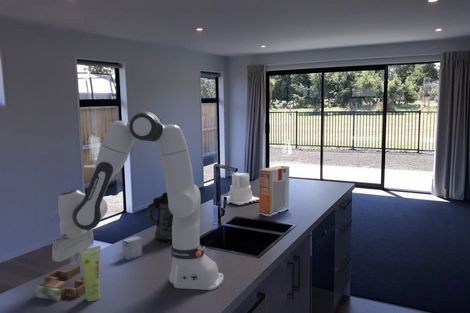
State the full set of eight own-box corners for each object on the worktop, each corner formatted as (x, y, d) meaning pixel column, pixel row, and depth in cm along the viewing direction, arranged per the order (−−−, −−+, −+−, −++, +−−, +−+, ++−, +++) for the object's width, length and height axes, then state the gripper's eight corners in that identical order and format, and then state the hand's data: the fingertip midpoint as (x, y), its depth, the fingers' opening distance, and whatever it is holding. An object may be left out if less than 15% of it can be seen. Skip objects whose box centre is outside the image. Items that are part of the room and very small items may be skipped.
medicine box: (136, 253, 188) (136, 235, 187) (142, 255, 185) (142, 237, 184) (122, 258, 182) (122, 240, 181) (128, 260, 179) (128, 242, 178)
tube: (95, 303, 140) (92, 251, 138) (82, 301, 141) (79, 250, 138) (102, 295, 146) (100, 245, 143) (90, 294, 146) (87, 244, 144)
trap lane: (108, 276, 162) (108, 267, 162) (69, 303, 140) (69, 292, 140) (68, 270, 168) (67, 261, 168) (24, 294, 146) (23, 284, 146)
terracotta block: (66, 291, 149) (65, 281, 149) (56, 297, 144) (55, 287, 144) (55, 289, 151) (54, 280, 150) (45, 295, 146) (44, 285, 145)
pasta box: (278, 207, 273) (279, 165, 269) (288, 209, 267) (289, 166, 264) (259, 214, 255) (259, 169, 251) (269, 217, 250) (270, 171, 246)
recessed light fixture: (243, 196, 307) (243, 169, 305) (262, 201, 291) (262, 173, 288) (218, 201, 291) (218, 173, 289) (237, 207, 275) (237, 177, 272)
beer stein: (192, 237, 211) (191, 192, 208) (167, 247, 195) (166, 199, 192) (170, 231, 220) (169, 188, 217) (144, 241, 204) (142, 195, 201)
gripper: (60, 239, 143) (63, 275, 145) (95, 223, 163) (97, 255, 165) (46, 238, 145) (49, 273, 147) (82, 222, 165) (85, 253, 166)
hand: (75, 263), depth 156 cm, fingers closed
